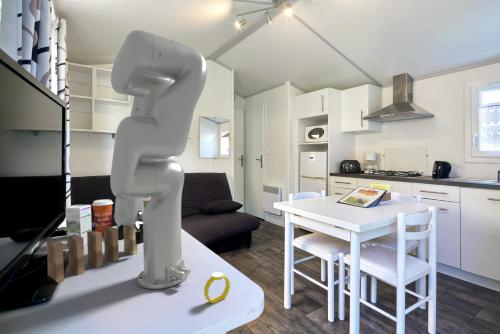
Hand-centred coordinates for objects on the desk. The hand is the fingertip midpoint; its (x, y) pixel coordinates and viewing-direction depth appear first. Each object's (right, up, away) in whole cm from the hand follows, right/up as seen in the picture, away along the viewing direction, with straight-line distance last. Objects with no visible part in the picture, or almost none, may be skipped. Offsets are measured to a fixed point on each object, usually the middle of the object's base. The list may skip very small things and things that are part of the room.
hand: (131, 241), depth 84 cm
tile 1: (-4, -4, -5) cm, 8 cm away
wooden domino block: (-12, -5, -18) cm, 22 cm away
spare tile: (-1, -4, +1) cm, 4 cm away
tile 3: (-9, -5, -13) cm, 17 cm away
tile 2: (-7, -5, -9) cm, 12 cm away
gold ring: (+32, -5, -28) cm, 43 cm away
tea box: (-7, -4, +26) cm, 28 cm away
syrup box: (-24, -4, +9) cm, 26 cm away
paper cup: (-23, -4, +23) cm, 32 cm away
